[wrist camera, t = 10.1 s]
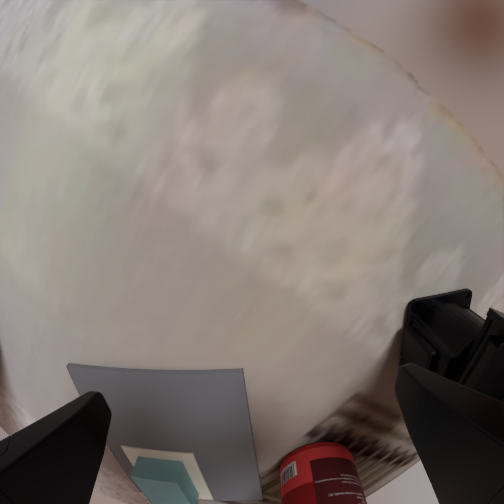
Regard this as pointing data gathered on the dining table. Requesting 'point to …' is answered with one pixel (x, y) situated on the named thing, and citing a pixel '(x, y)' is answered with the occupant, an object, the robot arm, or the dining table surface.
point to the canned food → (320, 476)
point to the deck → (164, 481)
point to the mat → (181, 424)
